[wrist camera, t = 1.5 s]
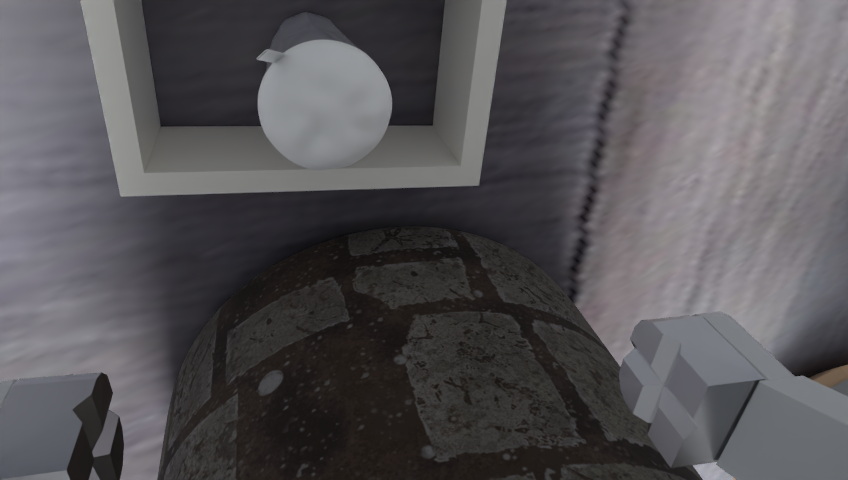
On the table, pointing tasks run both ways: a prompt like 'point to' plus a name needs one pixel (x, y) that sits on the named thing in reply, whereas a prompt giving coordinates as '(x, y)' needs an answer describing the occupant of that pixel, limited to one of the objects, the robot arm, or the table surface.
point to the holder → (248, 145)
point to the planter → (404, 373)
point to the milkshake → (321, 95)
